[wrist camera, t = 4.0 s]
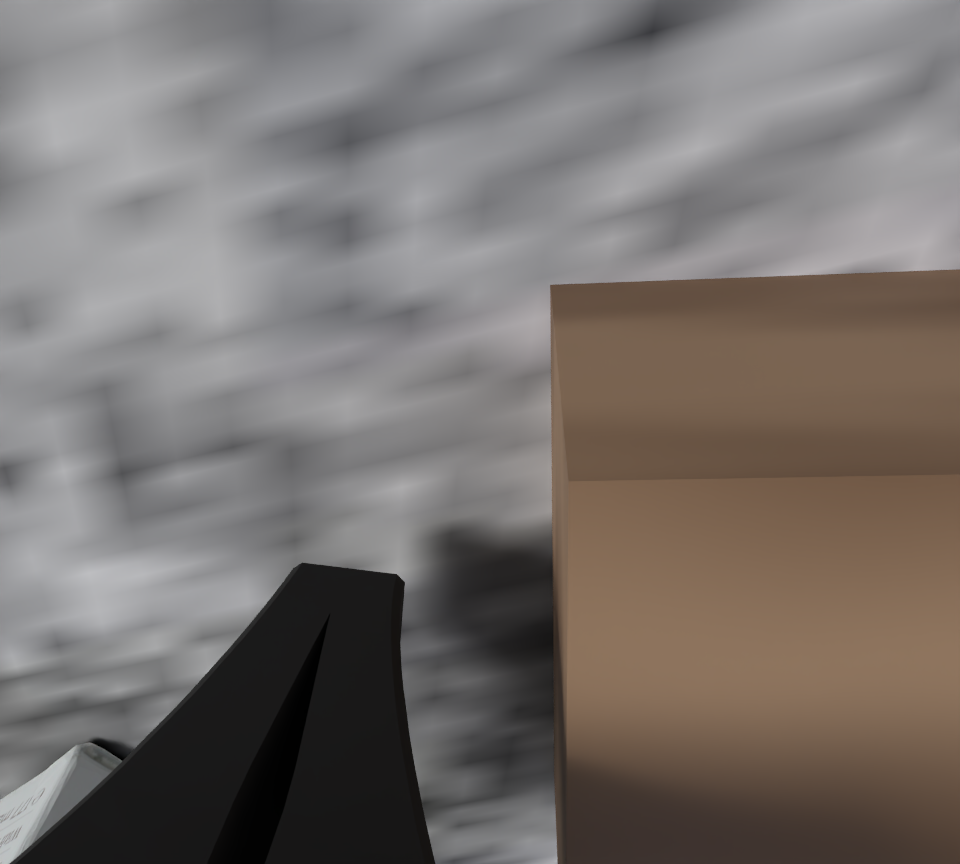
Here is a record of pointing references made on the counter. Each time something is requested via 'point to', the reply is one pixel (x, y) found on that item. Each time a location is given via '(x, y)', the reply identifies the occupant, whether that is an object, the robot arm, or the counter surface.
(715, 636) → the walnut block
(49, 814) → the skincare box
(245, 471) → the counter surface
